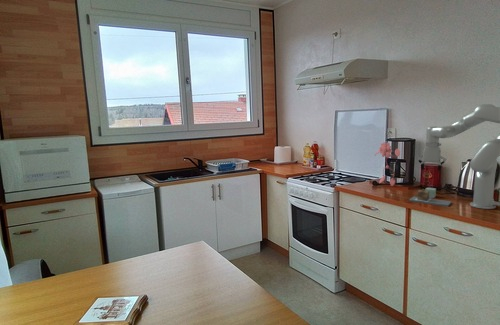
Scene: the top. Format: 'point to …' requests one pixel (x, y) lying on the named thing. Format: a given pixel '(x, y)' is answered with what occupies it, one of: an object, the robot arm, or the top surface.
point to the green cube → (431, 192)
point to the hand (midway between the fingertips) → (430, 170)
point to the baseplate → (432, 201)
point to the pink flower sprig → (386, 151)
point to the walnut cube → (423, 195)
